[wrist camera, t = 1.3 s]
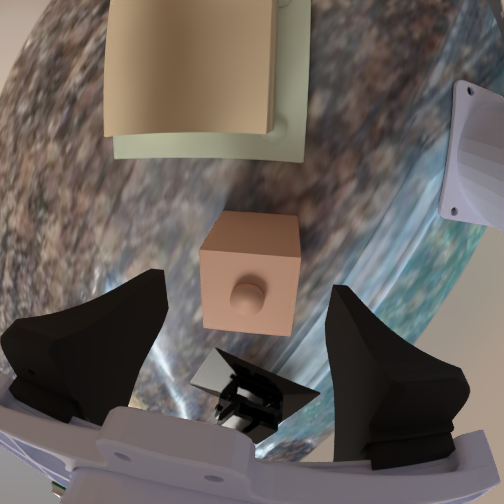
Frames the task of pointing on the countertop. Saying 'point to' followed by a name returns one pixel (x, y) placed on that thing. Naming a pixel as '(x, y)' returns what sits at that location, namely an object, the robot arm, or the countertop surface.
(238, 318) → the top brick
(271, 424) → the black angular piece
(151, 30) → the maple block
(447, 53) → the countertop surface
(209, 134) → the plate
